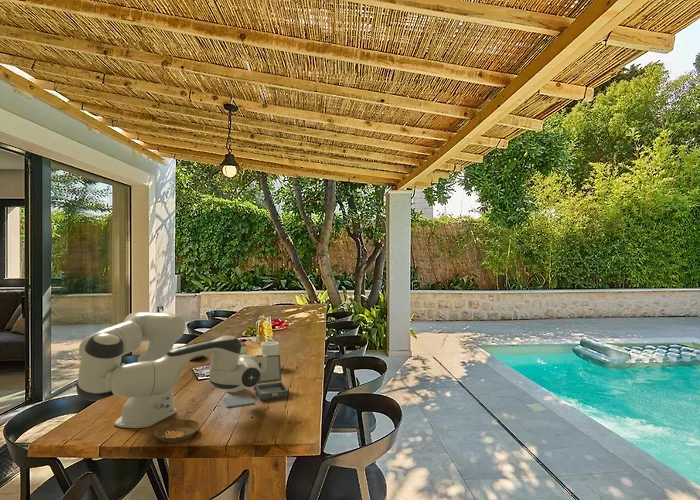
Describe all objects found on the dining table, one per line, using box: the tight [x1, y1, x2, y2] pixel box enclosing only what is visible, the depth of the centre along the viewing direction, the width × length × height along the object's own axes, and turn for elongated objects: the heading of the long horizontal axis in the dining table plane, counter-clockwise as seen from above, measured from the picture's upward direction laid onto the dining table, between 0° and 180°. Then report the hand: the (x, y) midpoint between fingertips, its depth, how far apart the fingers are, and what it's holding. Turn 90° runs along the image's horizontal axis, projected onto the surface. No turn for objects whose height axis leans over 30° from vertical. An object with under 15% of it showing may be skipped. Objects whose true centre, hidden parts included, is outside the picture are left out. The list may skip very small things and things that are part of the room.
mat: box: [223, 393, 256, 409], centre depth 174 cm, size 11×11×1 cm
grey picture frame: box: [257, 354, 282, 385], centre depth 189 cm, size 12×12×1 cm
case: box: [252, 381, 290, 402], centre depth 184 cm, size 19×12×9 cm, turn 23°
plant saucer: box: [153, 419, 201, 443], centre depth 142 cm, size 15×15×3 cm
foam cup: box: [260, 341, 280, 356], centre depth 225 cm, size 10×9×13 cm
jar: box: [224, 385, 245, 393], centre depth 189 cm, size 9×8×12 cm
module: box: [239, 341, 248, 355], centre depth 174 cm, size 5×5×13 cm
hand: (239, 357), depth 175 cm, fingers closed on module, 5 cm apart
